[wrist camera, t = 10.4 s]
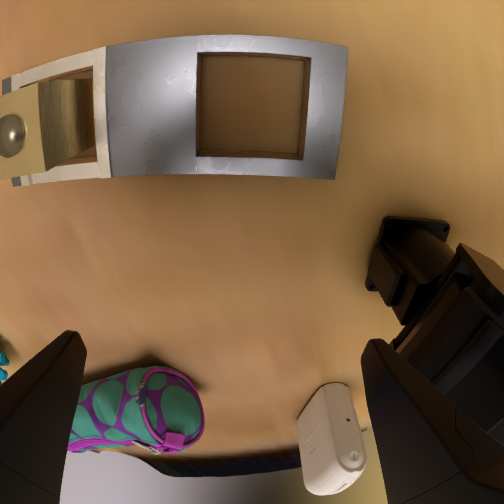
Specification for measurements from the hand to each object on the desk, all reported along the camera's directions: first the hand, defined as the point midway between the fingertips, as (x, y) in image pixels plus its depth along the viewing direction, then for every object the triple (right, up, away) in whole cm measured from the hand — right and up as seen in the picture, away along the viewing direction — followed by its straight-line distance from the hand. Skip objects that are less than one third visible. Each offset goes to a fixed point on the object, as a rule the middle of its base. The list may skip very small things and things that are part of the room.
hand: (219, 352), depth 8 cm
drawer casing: (-5, +12, +7) cm, 15 cm away
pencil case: (-15, -13, +22) cm, 30 cm away
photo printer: (+9, -16, +25) cm, 31 cm away
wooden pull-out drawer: (-11, +12, +7) cm, 18 cm away
